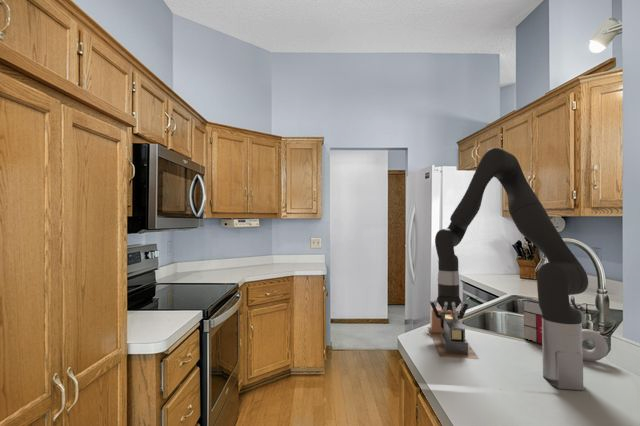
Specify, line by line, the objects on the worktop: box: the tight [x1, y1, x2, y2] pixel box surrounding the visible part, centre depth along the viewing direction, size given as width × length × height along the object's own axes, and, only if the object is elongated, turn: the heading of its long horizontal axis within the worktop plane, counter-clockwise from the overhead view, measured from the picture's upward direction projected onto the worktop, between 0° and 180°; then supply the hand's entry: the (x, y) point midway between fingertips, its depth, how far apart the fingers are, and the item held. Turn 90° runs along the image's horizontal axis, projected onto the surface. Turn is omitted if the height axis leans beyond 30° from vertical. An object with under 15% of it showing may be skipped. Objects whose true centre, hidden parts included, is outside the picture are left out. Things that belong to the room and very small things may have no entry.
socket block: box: [429, 306, 460, 333], centre depth 144 cm, size 5×10×9 cm, turn 80°
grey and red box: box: [523, 298, 542, 345], centre depth 134 cm, size 11×4×15 cm, turn 25°
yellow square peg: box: [445, 315, 462, 340], centre depth 130 cm, size 20×3×3 cm, turn 170°
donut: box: [582, 328, 609, 362], centre depth 116 cm, size 10×4×10 cm, turn 56°
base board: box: [427, 326, 480, 360], centre depth 132 cm, size 33×12×1 cm, turn 170°
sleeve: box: [441, 319, 469, 354], centre depth 125 cm, size 12×7×8 cm, turn 170°
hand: (449, 329), depth 134 cm, fingers closed on yellow square peg, 3 cm apart
